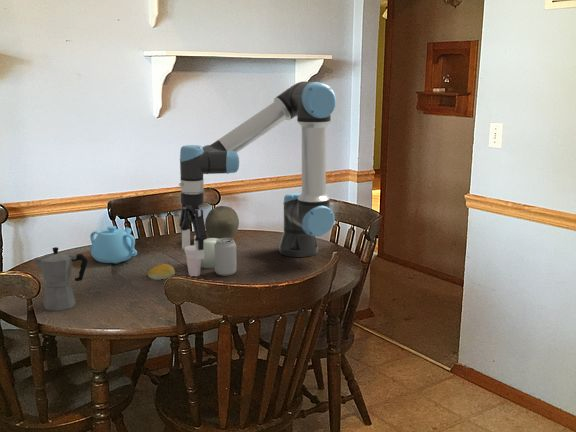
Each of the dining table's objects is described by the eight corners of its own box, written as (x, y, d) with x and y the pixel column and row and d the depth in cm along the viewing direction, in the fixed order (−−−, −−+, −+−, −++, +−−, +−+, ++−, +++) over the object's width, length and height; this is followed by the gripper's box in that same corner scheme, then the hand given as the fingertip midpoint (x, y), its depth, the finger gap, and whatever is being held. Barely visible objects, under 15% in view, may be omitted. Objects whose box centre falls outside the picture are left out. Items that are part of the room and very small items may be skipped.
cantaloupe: (197, 243, 253) (196, 207, 250) (220, 236, 265) (219, 201, 261) (225, 249, 246) (224, 212, 242) (246, 241, 257) (246, 205, 254)
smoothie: (200, 278, 212) (199, 238, 209) (182, 277, 213) (181, 237, 210) (206, 272, 218) (205, 233, 215) (188, 271, 219) (187, 232, 216)
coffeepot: (33, 312, 182) (28, 253, 178) (39, 301, 191) (34, 244, 186) (88, 309, 185) (84, 250, 180) (92, 298, 194) (88, 241, 189)
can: (233, 277, 214) (232, 243, 211) (211, 275, 215) (211, 242, 212) (239, 270, 221) (238, 237, 218) (218, 269, 222) (218, 236, 219)
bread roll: (143, 279, 212) (143, 267, 211) (158, 271, 220) (158, 260, 219) (164, 282, 209) (164, 270, 208) (179, 274, 217) (178, 263, 216)
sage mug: (220, 259, 233) (220, 236, 231) (230, 265, 227) (230, 241, 225) (196, 263, 228) (195, 239, 226) (206, 269, 221) (205, 245, 219)
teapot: (78, 263, 228) (75, 229, 225) (109, 248, 246) (107, 217, 243) (126, 268, 222) (124, 234, 219) (154, 253, 241) (152, 221, 238)
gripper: (169, 186, 218) (170, 245, 223) (194, 200, 197) (195, 264, 201) (190, 185, 221) (190, 243, 226) (216, 198, 200) (216, 262, 205)
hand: (192, 253), depth 214 cm, fingers open, 13 cm apart
